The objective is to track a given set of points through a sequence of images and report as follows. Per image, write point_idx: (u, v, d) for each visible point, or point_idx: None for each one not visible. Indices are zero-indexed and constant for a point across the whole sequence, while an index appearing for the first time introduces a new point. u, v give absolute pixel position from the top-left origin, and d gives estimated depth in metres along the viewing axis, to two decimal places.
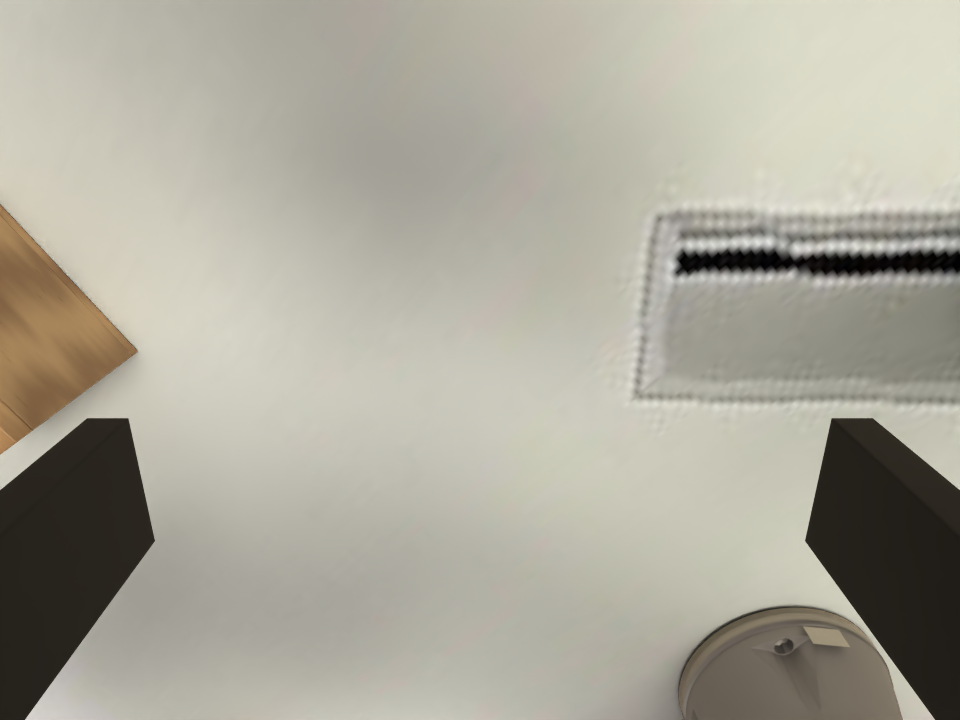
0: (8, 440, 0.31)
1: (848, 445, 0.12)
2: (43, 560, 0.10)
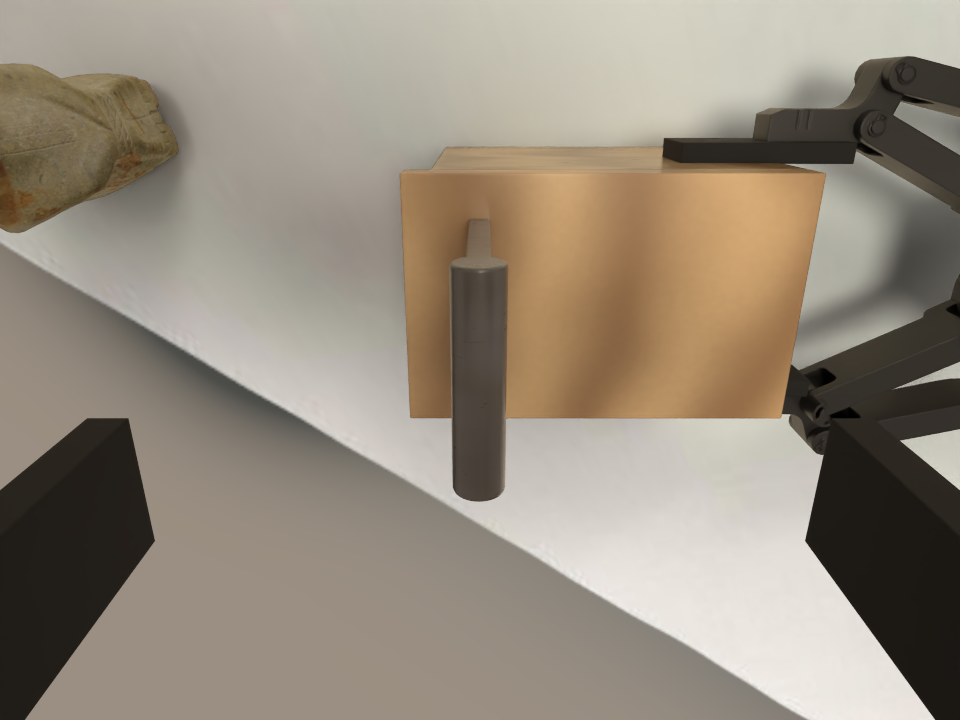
0: (816, 180, 0.22)
1: (848, 445, 0.12)
2: (43, 560, 0.10)
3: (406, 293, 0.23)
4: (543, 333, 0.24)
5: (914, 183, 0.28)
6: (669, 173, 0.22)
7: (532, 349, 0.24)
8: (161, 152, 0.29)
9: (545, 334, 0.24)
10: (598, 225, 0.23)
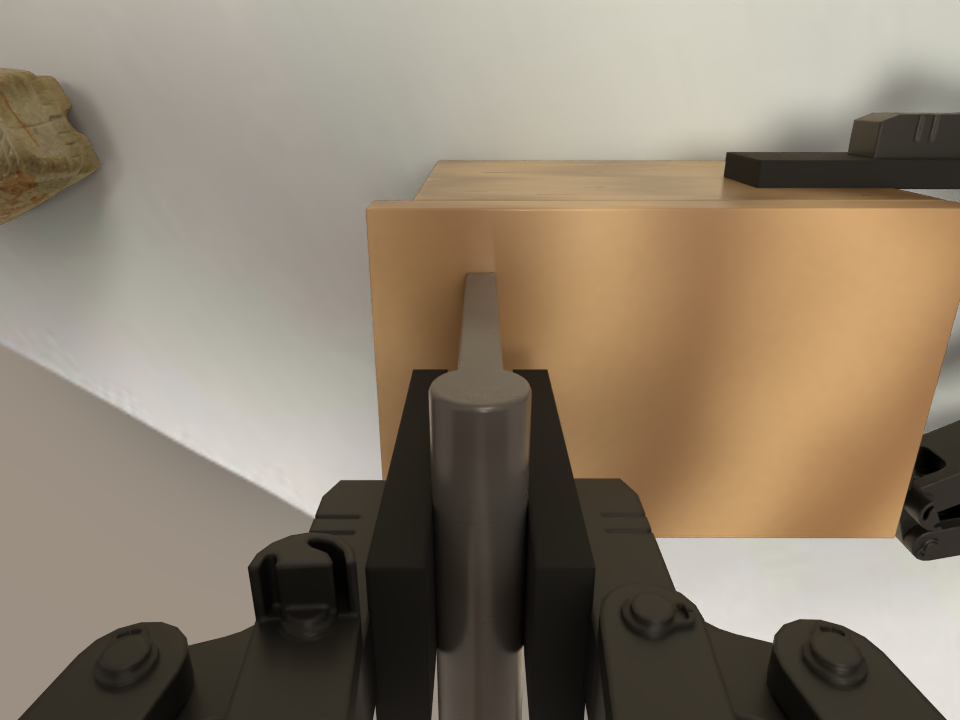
0: None
1: None
2: None
3: (378, 374, 0.17)
4: (570, 427, 0.17)
5: None
6: (756, 208, 0.15)
7: None
8: (67, 169, 0.23)
9: (573, 429, 0.17)
10: (651, 281, 0.16)
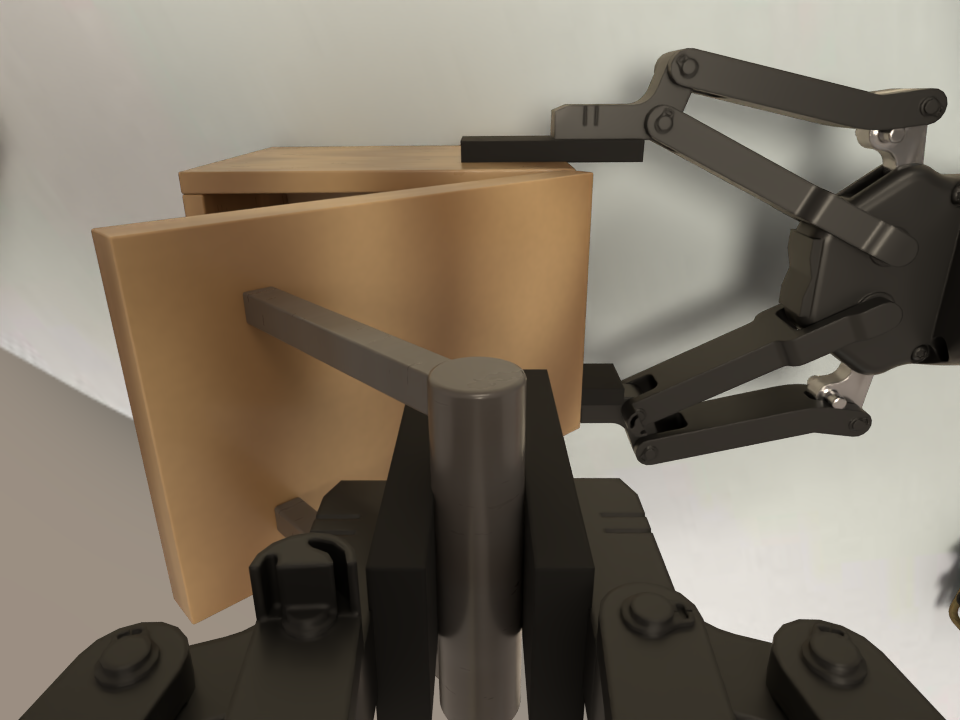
0: (587, 180, 0.21)
1: None
2: None
3: (155, 437, 0.14)
4: (362, 425, 0.17)
5: (727, 181, 0.26)
6: (470, 188, 0.18)
7: (351, 451, 0.17)
8: None
9: (364, 425, 0.17)
10: (407, 266, 0.17)
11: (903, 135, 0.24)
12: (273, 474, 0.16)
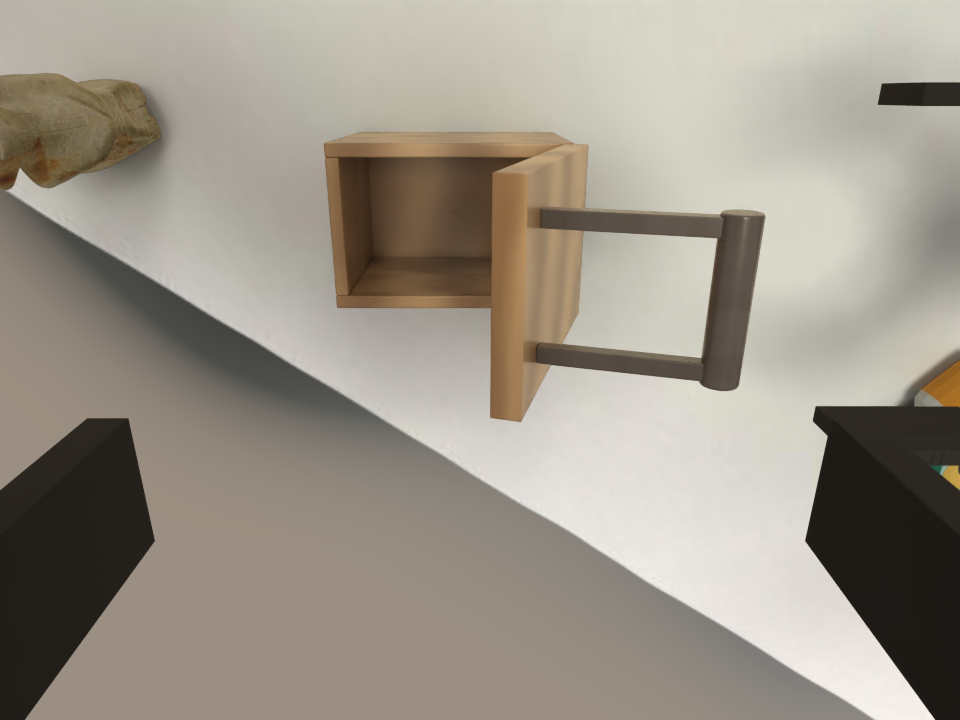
0: (587, 149, 0.34)
1: (848, 445, 0.12)
2: (43, 560, 0.10)
3: (524, 295, 0.23)
4: (550, 298, 0.28)
5: None
6: (569, 152, 0.29)
7: (547, 314, 0.28)
8: (147, 135, 0.41)
9: (550, 298, 0.28)
10: (561, 198, 0.28)
11: None
12: (537, 325, 0.26)
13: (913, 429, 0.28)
